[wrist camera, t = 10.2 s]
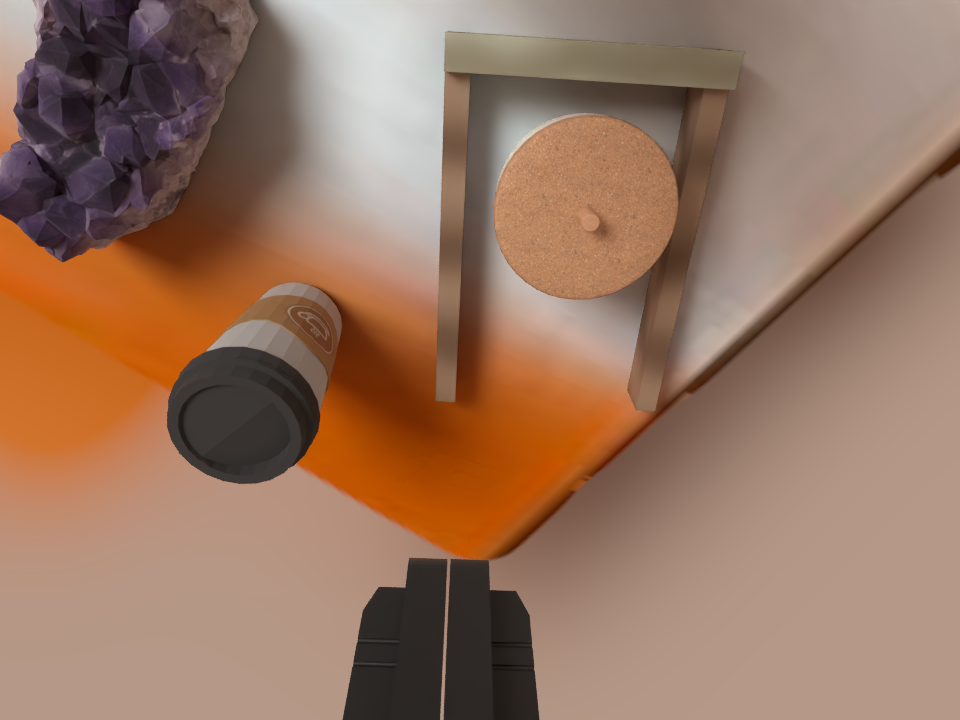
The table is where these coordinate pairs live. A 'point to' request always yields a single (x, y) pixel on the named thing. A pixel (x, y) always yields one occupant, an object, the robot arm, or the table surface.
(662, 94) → the table surface
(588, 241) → the lidded jar
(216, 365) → the coffee cup
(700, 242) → the table surface
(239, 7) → the geode
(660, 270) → the channel
